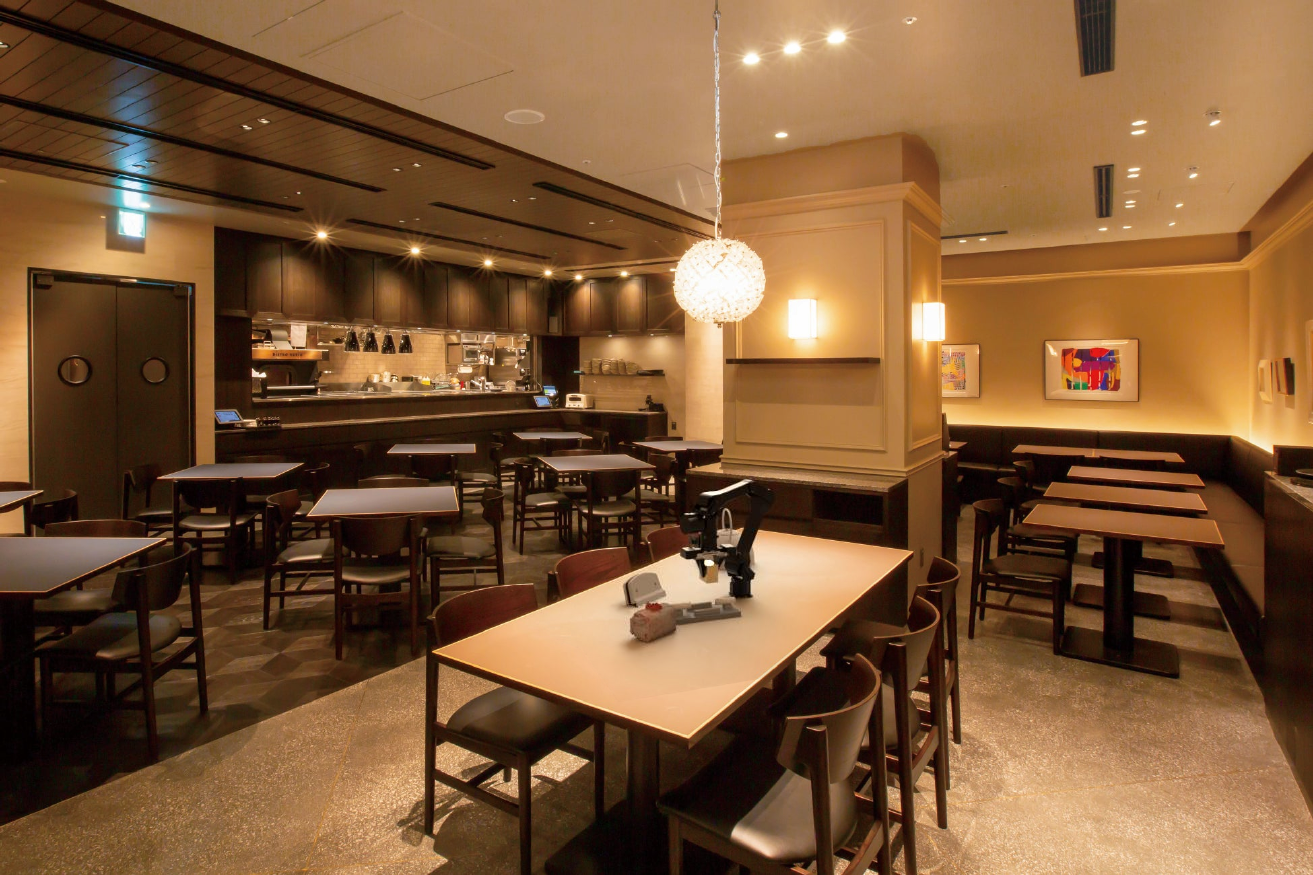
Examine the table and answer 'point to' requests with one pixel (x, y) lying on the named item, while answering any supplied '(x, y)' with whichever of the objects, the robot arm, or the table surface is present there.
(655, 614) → the food item
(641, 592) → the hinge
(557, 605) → the table surface
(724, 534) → the kettle
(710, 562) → the block
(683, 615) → the shaft stand
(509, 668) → the table surface
